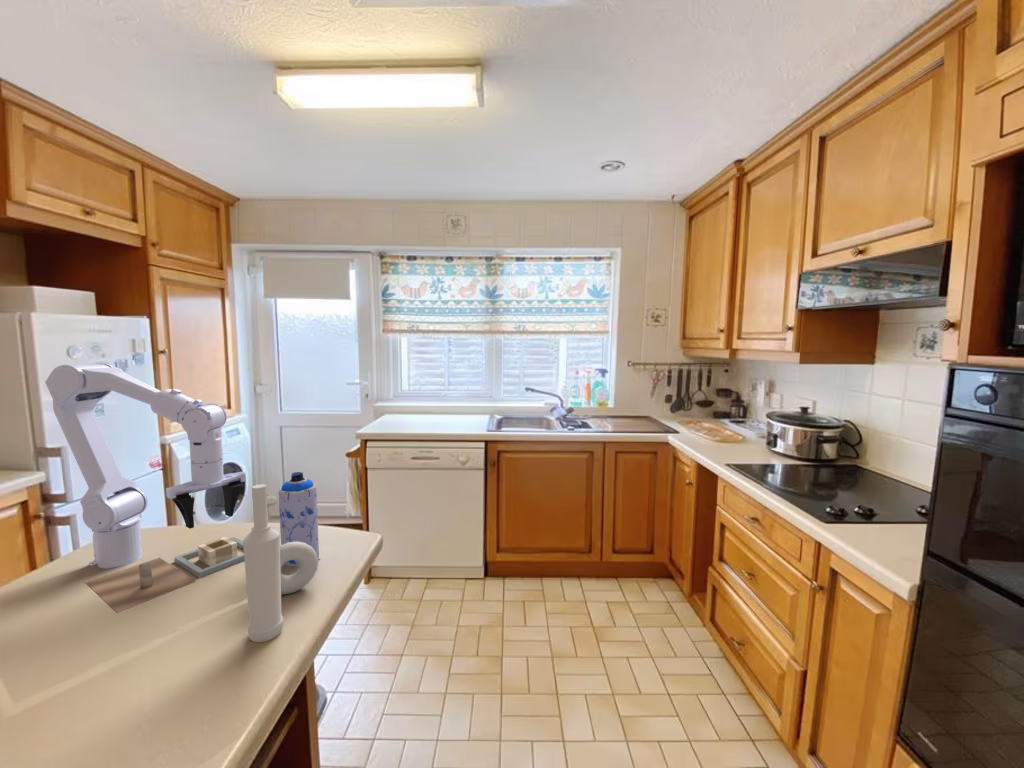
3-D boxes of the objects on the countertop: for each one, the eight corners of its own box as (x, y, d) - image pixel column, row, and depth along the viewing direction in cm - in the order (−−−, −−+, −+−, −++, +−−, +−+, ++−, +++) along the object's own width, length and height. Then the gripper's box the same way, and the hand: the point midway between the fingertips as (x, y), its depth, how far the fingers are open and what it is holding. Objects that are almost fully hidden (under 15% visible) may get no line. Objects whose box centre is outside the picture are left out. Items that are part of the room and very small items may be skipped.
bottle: (246, 647, 68) (238, 493, 66) (249, 628, 73) (241, 484, 71) (283, 637, 70) (277, 488, 68) (283, 619, 75) (277, 479, 73)
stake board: (85, 587, 85) (83, 560, 85) (159, 561, 95) (158, 537, 95) (117, 617, 75) (114, 588, 75) (196, 586, 85) (194, 559, 85)
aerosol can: (327, 555, 98) (324, 469, 96) (302, 572, 91) (298, 480, 89) (299, 551, 100) (295, 467, 99) (272, 567, 93) (267, 477, 91)
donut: (263, 605, 79) (260, 553, 78) (260, 597, 82) (258, 546, 81) (321, 587, 85) (319, 539, 84) (316, 580, 88) (315, 532, 87)
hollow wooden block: (199, 561, 94) (198, 545, 94) (226, 551, 99) (225, 536, 98) (210, 568, 91) (209, 552, 91) (237, 557, 96) (236, 542, 96)
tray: (174, 566, 93) (174, 557, 93) (234, 544, 103) (234, 536, 103) (199, 582, 87) (199, 572, 87) (260, 558, 97) (260, 549, 97)
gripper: (174, 471, 85) (178, 537, 86) (251, 456, 97) (254, 514, 98) (160, 465, 89) (164, 529, 90) (236, 451, 101) (238, 507, 102)
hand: (210, 521), depth 94 cm, fingers open, 7 cm apart
